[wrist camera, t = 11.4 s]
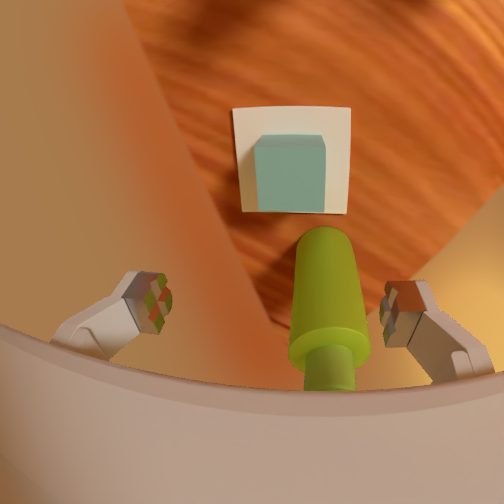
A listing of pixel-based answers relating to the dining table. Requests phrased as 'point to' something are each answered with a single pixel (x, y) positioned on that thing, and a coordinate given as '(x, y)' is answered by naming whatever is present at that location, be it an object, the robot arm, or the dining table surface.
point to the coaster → (294, 122)
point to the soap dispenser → (327, 312)
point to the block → (290, 173)
